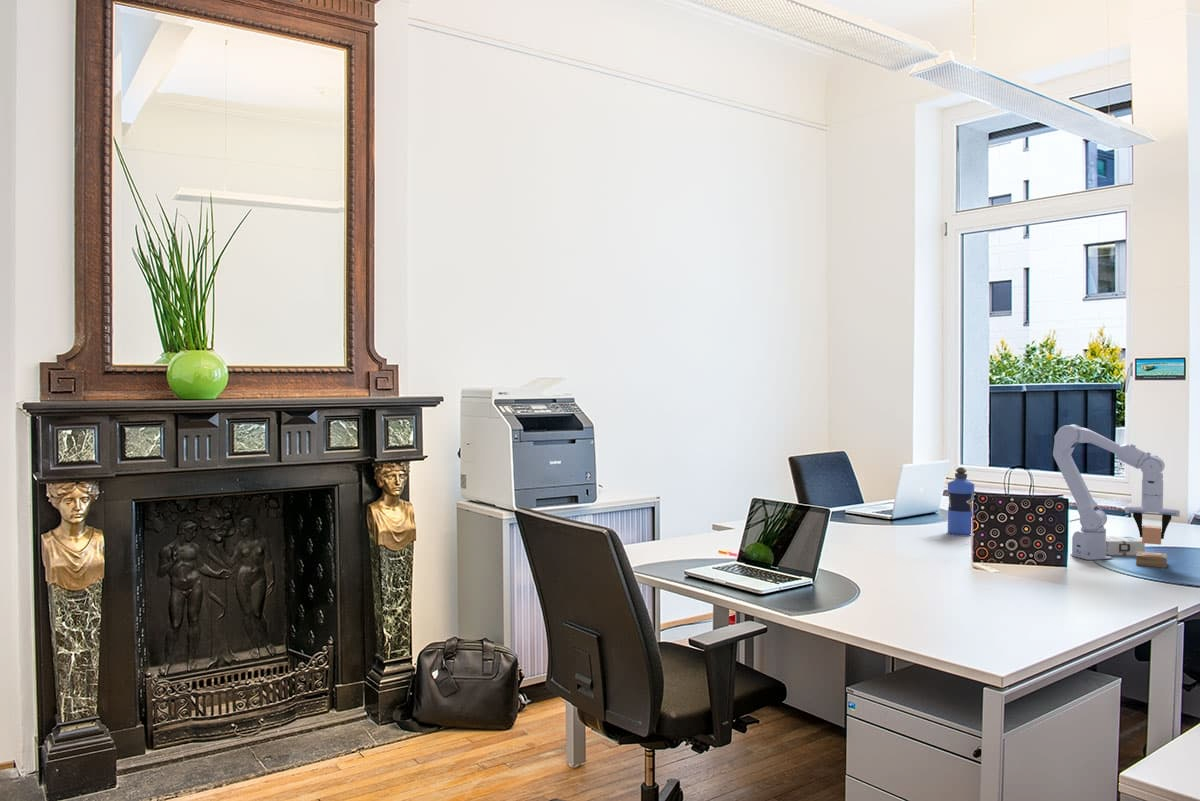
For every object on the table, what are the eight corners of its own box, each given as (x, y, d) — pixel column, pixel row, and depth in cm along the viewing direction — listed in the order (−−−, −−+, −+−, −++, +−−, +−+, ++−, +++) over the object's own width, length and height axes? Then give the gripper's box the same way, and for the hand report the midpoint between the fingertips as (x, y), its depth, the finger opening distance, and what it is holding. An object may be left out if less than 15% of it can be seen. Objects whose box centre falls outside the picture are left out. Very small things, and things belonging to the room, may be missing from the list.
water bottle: (975, 532, 335) (976, 467, 334) (971, 536, 327) (972, 469, 327) (949, 530, 340) (950, 466, 339) (945, 534, 332) (945, 468, 331)
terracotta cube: (1160, 544, 275) (1161, 528, 274) (1142, 543, 277) (1142, 527, 277) (1161, 542, 279) (1161, 526, 279) (1142, 540, 282) (1142, 524, 281)
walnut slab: (1166, 567, 273) (1166, 557, 273) (1136, 564, 277) (1136, 554, 277) (1166, 563, 280) (1166, 553, 280) (1136, 560, 284) (1137, 550, 284)
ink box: (1129, 550, 300) (1086, 550, 300) (1130, 536, 300) (1086, 536, 300) (1144, 556, 291) (1099, 555, 292) (1145, 541, 291) (1100, 541, 292)
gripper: (1125, 494, 278) (1124, 537, 279) (1180, 497, 271) (1179, 541, 271) (1125, 492, 284) (1125, 534, 285) (1179, 495, 277) (1179, 538, 277)
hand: (1151, 537), depth 278 cm, fingers closed on terracotta cube, 5 cm apart
